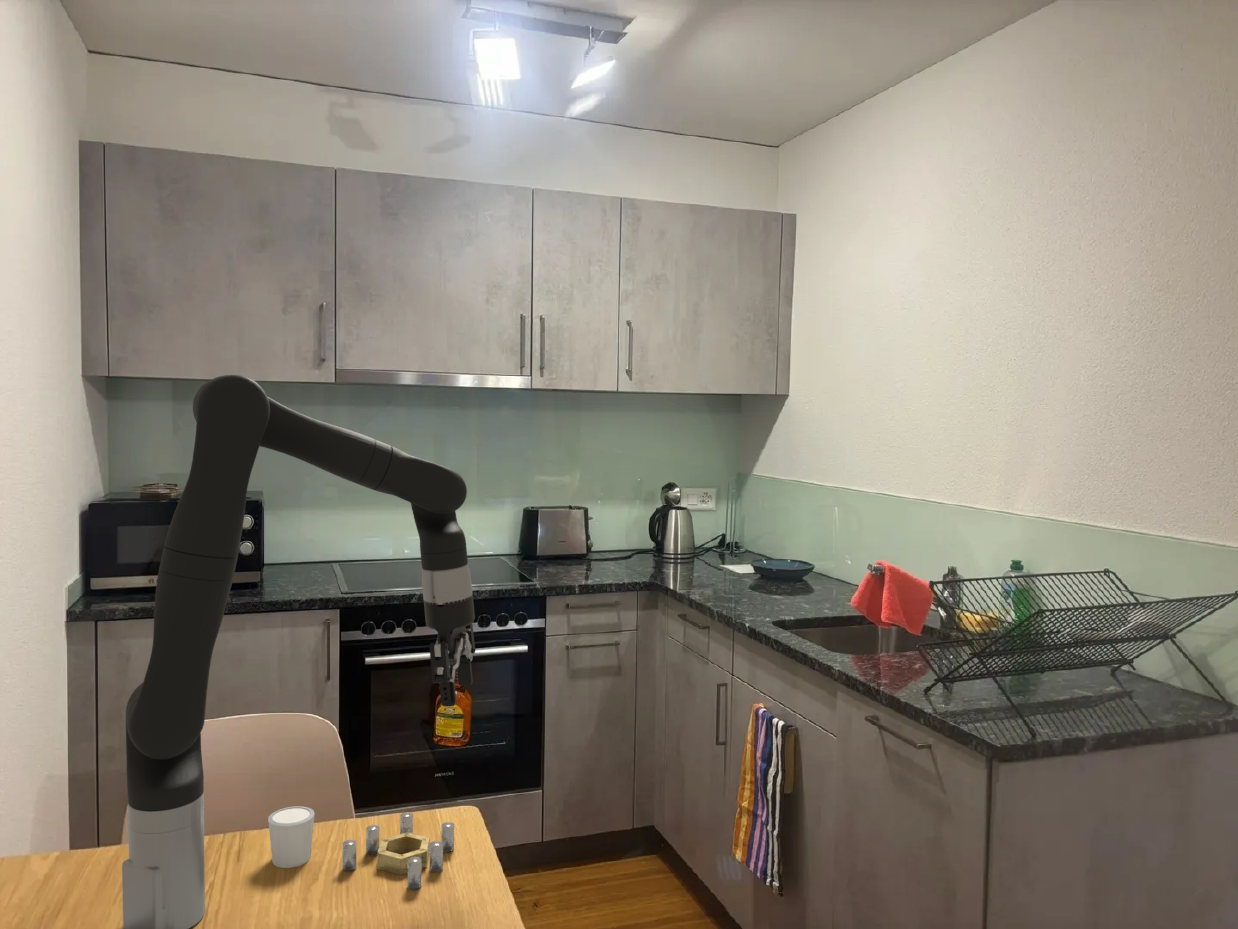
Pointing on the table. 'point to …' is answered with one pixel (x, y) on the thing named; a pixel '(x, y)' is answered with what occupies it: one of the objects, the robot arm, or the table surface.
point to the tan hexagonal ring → (402, 843)
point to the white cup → (291, 836)
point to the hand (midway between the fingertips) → (457, 694)
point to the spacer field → (413, 862)
